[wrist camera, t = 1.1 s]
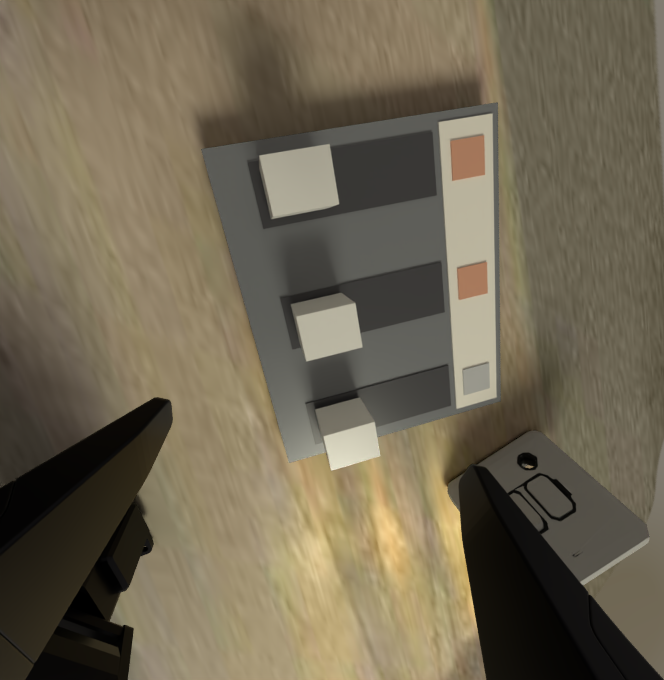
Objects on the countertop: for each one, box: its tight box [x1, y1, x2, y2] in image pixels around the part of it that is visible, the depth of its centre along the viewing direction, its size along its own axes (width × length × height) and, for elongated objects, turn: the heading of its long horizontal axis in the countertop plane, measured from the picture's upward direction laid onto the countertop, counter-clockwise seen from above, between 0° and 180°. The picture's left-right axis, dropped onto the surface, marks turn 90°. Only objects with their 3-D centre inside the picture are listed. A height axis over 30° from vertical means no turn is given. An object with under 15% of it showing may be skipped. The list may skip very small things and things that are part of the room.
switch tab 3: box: [315, 397, 380, 471], centre depth 20 cm, size 3×2×3 cm
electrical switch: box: [448, 430, 649, 585], centre depth 25 cm, size 9×5×9 cm, turn 120°
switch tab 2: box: [291, 293, 362, 362], centre depth 18 cm, size 3×2×3 cm
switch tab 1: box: [259, 144, 339, 219], centre depth 16 cm, size 3×2×3 cm
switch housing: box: [201, 102, 501, 463], centre depth 21 cm, size 16×19×2 cm
